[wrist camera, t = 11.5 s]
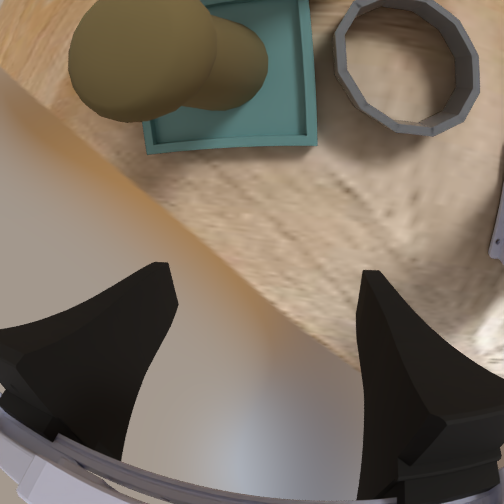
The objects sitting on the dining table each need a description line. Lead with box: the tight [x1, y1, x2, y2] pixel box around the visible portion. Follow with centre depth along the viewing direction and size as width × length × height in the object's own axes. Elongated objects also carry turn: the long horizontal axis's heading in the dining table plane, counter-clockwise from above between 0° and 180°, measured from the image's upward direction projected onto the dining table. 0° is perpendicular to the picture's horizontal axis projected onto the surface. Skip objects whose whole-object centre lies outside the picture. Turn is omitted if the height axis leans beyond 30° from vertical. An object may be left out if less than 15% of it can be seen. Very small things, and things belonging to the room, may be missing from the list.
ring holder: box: [332, 0, 480, 137], centre depth 13 cm, size 9×9×2 cm
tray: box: [142, 0, 317, 155], centre depth 16 cm, size 10×11×1 cm
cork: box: [68, 0, 268, 123], centre depth 11 cm, size 6×6×11 cm
